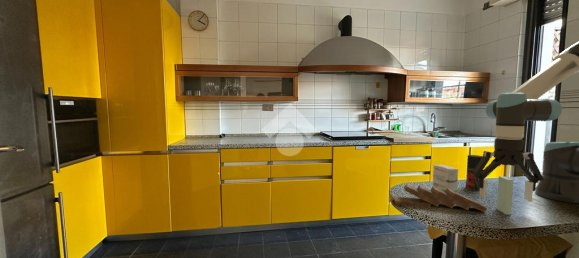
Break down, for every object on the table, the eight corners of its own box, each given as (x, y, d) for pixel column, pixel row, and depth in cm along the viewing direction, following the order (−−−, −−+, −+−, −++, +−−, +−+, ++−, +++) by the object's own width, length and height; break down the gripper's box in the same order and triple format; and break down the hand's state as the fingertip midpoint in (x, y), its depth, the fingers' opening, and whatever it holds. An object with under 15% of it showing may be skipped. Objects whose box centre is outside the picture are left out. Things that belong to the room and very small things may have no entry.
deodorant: (485, 190, 113) (487, 157, 112) (471, 190, 113) (473, 157, 112) (475, 186, 119) (477, 155, 118) (462, 186, 119) (464, 154, 118)
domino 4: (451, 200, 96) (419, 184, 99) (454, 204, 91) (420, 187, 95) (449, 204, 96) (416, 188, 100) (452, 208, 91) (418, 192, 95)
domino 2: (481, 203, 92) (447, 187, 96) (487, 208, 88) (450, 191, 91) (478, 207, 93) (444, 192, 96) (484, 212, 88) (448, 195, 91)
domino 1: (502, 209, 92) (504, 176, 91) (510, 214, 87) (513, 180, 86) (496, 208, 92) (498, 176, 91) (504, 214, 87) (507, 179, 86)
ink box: (457, 197, 104) (459, 168, 104) (447, 197, 103) (449, 169, 103) (441, 190, 113) (442, 164, 112) (431, 191, 112) (432, 164, 111)
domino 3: (465, 201, 94) (432, 186, 98) (470, 206, 89) (435, 189, 93) (463, 206, 94) (430, 190, 98) (467, 210, 90) (432, 193, 93)
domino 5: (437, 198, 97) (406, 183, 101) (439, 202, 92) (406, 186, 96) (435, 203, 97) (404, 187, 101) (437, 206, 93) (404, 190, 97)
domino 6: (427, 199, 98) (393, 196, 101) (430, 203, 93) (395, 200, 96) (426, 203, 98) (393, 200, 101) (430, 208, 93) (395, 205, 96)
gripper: (544, 138, 88) (539, 197, 90) (463, 136, 94) (460, 192, 96) (561, 140, 81) (556, 205, 83) (472, 138, 87) (469, 199, 88)
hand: (504, 198), depth 89 cm, fingers open, 13 cm apart
